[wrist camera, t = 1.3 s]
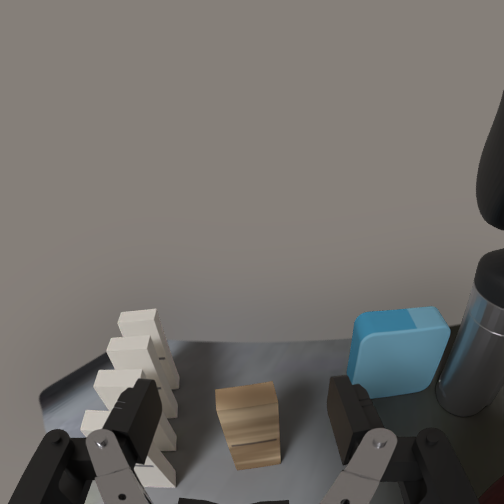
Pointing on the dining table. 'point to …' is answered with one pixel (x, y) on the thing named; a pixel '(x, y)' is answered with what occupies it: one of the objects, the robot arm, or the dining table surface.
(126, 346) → the white domino block
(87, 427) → the tile
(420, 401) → the dining table surface
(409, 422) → the dining table surface
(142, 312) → the end tile
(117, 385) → the tile
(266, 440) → the tile
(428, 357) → the data package
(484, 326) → the robot arm
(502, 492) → the mate gourd
